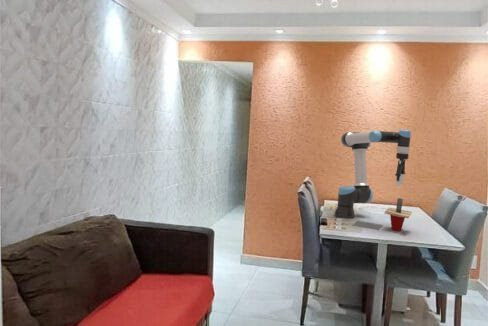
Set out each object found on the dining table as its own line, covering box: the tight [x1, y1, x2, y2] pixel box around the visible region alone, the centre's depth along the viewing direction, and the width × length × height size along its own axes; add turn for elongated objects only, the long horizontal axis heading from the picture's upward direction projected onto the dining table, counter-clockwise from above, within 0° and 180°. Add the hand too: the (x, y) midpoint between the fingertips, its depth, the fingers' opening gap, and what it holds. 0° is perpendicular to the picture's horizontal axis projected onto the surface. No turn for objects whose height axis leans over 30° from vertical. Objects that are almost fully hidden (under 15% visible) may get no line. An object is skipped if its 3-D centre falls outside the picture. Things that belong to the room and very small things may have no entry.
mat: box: [351, 220, 384, 231], centre depth 292 cm, size 18×18×1 cm
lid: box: [384, 197, 413, 219], centre depth 281 cm, size 15×15×10 cm
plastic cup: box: [389, 215, 406, 232], centre depth 282 cm, size 11×11×12 cm
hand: (399, 184), depth 282 cm, fingers open, 13 cm apart
